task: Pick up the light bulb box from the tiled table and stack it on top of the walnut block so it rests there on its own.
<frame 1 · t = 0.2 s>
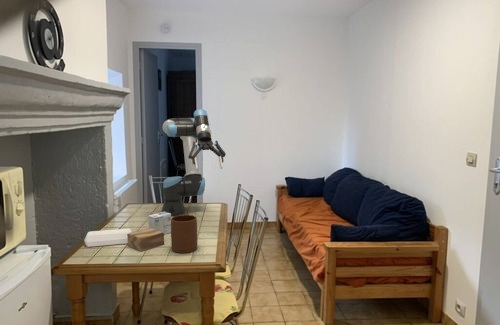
hand: (209, 168, 203), 35 cm above the table, tool tilted 35°, fingers open, 13 cm apart
light bulb box: (160, 233, 207), on the table
mug: (185, 246, 188), on the table
crystal: (110, 244, 192), on the table
walnut block: (146, 245, 189), on the table
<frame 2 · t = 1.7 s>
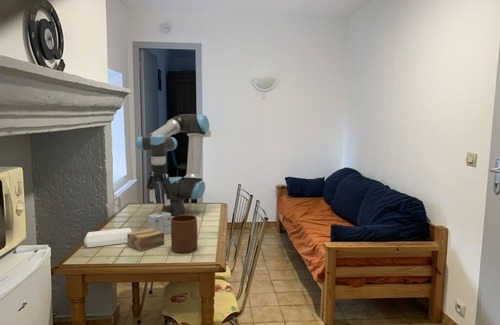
hand: (159, 203, 205), 17 cm above the table, tool pointing down, fingers open, 13 cm apart
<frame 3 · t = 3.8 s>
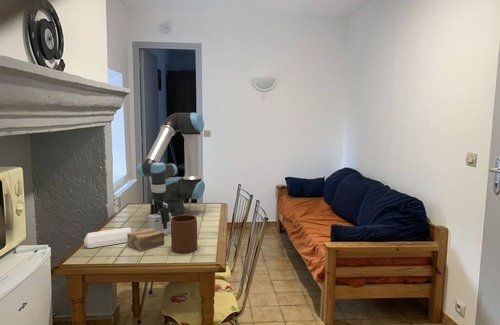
hand: (160, 232, 207), 0 cm above the table, tool pointing down, fingers open, 7 cm apart
light bulb box: (160, 233, 207), on the table, touching gripper
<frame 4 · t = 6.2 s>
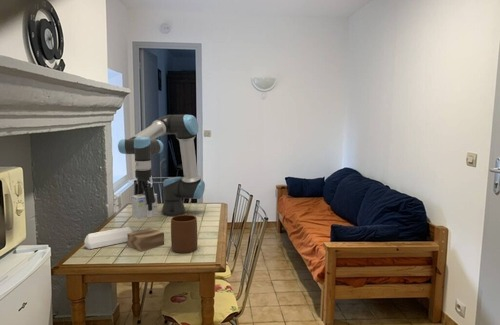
hand: (144, 215, 187), 15 cm above the table, tool pointing down, fingers closed on light bulb box, 7 cm apart
light bulb box: (145, 216, 187), point 15 cm above the table, touching gripper
when the fingers open (7 cm above the table, at t = 7.9 s): light bulb box stays where it is, resting on walnut block.
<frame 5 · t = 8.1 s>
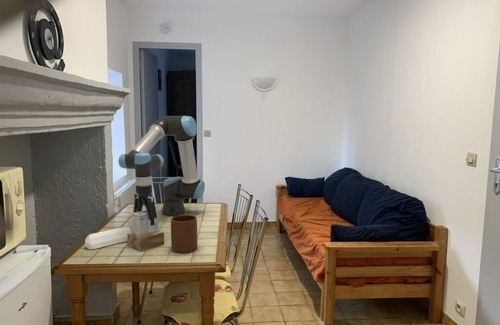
hand: (145, 229, 188), 8 cm above the table, tool pointing down, fingers open, 9 cm apart
light bulb box: (146, 233, 189), point 6 cm above the table, touching walnut block
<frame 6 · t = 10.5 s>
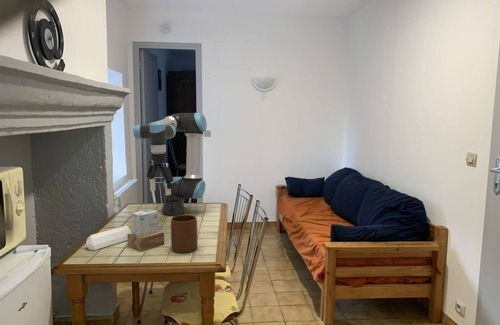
hand: (160, 192, 200), 23 cm above the table, tool pointing down, fingers open, 13 cm apart
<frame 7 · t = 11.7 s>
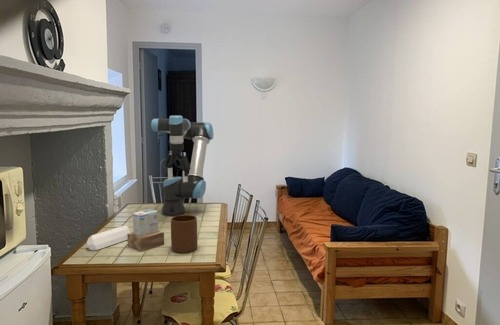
hand: (177, 180, 217), 27 cm above the table, tool pointing down, fingers open, 13 cm apart
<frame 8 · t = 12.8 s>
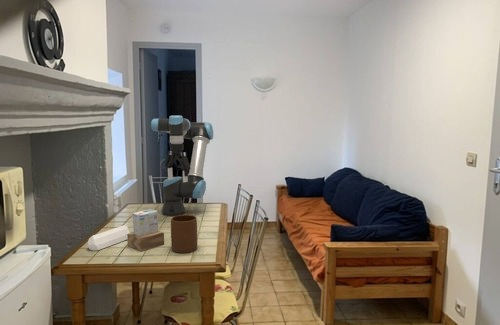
hand: (177, 180, 217), 27 cm above the table, tool pointing down, fingers open, 13 cm apart
at the end: light bulb box inside the target area on the walnut block (0.1 cm from its centre), point 6.1 cm above the walnut block's base; light bulb box tilted 0°; light bulb box touching walnut block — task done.
